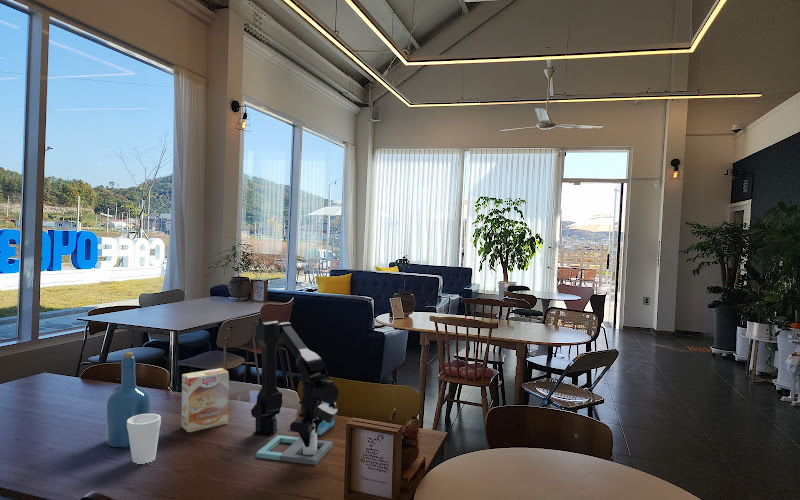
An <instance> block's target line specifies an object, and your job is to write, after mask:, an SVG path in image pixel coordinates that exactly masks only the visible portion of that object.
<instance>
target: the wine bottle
mask: <svg viewBox="0 0 800 500" xmlns="http://www.w3.org/2000/svg"><path fill="white" fill-rule="evenodd" d="M135 358H136V357H135V356H134V353H133V352H132V351H128V352H124V354H123V356H122V359H121V366H120V368H121V378H120V379H121V385H119V386H118V387H116V388H114V389H113V390H112V392H110V394H109V395H108V397H107V399H106V415H105V416H106V418H105V419H106V421H105V422H106V423H105V424H106V443H107V445H108V446H109V445H110V446H109V447H111V446H113V447H112V448H114V447H123V448H124V449H125V448H130V441H129V435H128V429H127V420H128V419H129V418H131V417H133V416H136V415H140V414H151V397H150V394H149V392H148V391H147V390H146V389H145V388H143V387H141V386H140V387H139V386H138V385H137V384H136V383H137V380H136V367H137V365H136V359H135Z"/></svg>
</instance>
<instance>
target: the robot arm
mask: <svg viewBox="0 0 800 500" xmlns="http://www.w3.org/2000/svg"><path fill="white" fill-rule="evenodd" d="M255 333H256V340H257V342H258V344H259V345H260V347H261V388H260V389H259V392H258V393H257V396H256V403H255V404H254V405H253V407H252V408H251V410H250V413H251V417H252V418H255V430H254V431H253V433H252V434H253V435H257V436H265V437H270V436H272V435H273V434H274V433H275V432H277V431H278V428H277V427H278V422H277V421H278V419H277V418H276V417H277V416H276V415H279V414H280V412H281V409H282V405H283V393H282V392H281V391H280V390H279V389H278V388H277V346H278V345H279V344H278V343H279V342H280V340H282V342H283V344H284V345H285V347H287V349H288V350H289V351H290V353H291V355H292V356H293V357H294V359H295V367H296V368H297V371H298V373H299V374H300V376H299V377H298V378H297V380H298V381H299V382H301V399H300V400H299V405H301V411H300V412H299V417H300V418H296V419H295V420H293V421H292V422H291V423H290V424H289V431H290V432H293V433H294V432H295V433H298V434H299V436H300V438H302V440H303V442H304V445H305V446H306V447H309V444H310V438H311V432H312V430H314V429H315V433H317V431H318V427H319V424H320V423H321V422H322V421H323V420H324V421H326V422H327V423H331V422H332V421H333V420H334V418H336V415H337V414H338V412H339V411H338V409H339V408H338V406H337V403H336V401H337V400H338V397H339V394H340V393H339V388H338V387H337V386H336V385H335V384H334V383H335V382H334V380H333V381H332V380H329V379H330V375H329V371H328V370H327V368H326V366H325V363H324V361H323V359H322V358H321V356H319V355H318V354H317V353H316V352H314V351H312V350H310V349H309V348H308V347H307V346H306V344H305V343H304V342H303V340H302V339H301V338H300V337H299V335H298V334H297V332H296V331H295V330H294V328H293V327H292V323H291V322H289V321H283V322H279V321H278V320H276V319H275V320H269V321H261V322H259V323H258V324H257V325H256V327H255ZM323 402H325V403H328V404H330V405H328V404H326V405H325V404H323ZM334 402H335V403H334ZM313 423H315V427H313Z"/></svg>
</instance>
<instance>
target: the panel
mask: <svg viewBox="0 0 800 500" xmlns="http://www.w3.org/2000/svg"><path fill="white" fill-rule="evenodd" d="M280 443H285V444H291V445H290V446H289V447H288V448H286V449H285V450H284V451H283V452H280V451H279V452H277V451H273V449H275V448H276V447H277V446H278V445H279V444H280ZM333 447H334V441H331V440H321V439H317V448H319V449H317V451H316V453H315V454H314V455H301V453H303V440H302V438H301V437H298V436H297V437H296V436H291V435H290V436H288V435H280V434H277V435H276V436H275V437H273V439H271V440H270V441H269V442H267V443H266V444H265V445H264V446H262V447H261V448H260V449H259V450H258V451H256V455H255V456H256V458H260V459H267V460H276V461H283V462H290V463H297V464H305V465H306V464H307V465H313V466H316V465H317V464H318V463H319V462H320V461H321V460H322V458H324V457H325V455H326V454H327V453H328V452H329V451H330V450H331V449H332V448H333Z"/></svg>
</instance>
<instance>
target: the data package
mask: <svg viewBox="0 0 800 500" xmlns="http://www.w3.org/2000/svg"><path fill="white" fill-rule="evenodd" d="M334 403H336V401H335V402H334ZM323 404H325V405H326V404H328V403H325V402H323ZM328 405H330V404H328ZM335 418H336V417H335ZM335 418H334V420H333V421H332V422H331V423H327V422H326V421H324V420H323V421H322V422H321V423H320V424H319V427H318V431H317V436H321V435H323V434H325V432H327V431H329V430H330V429H331V428H332V427H334V426H335V423H336V422H335V421H336V420H335Z"/></svg>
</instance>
